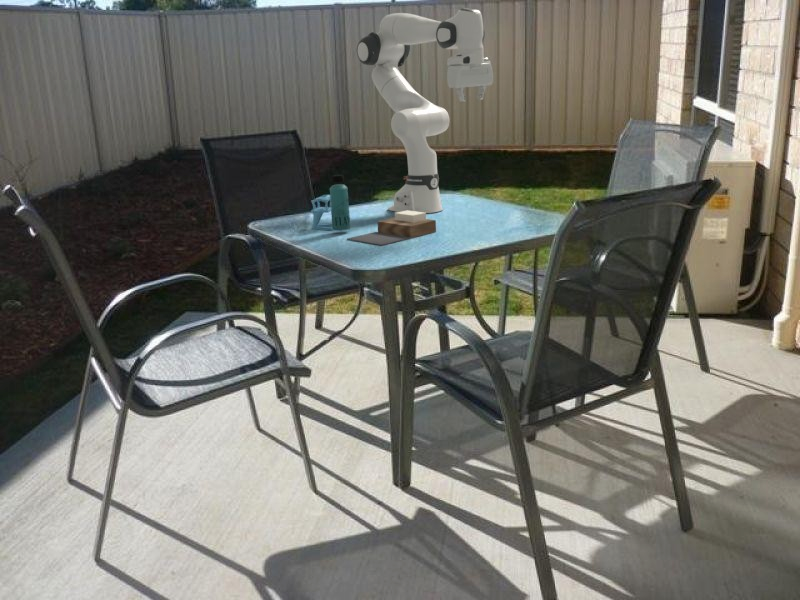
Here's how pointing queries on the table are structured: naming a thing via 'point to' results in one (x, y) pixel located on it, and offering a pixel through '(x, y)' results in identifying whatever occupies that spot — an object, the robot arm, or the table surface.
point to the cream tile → (410, 216)
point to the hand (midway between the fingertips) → (471, 100)
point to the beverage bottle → (339, 204)
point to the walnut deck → (406, 227)
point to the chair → (321, 213)
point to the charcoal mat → (379, 238)
